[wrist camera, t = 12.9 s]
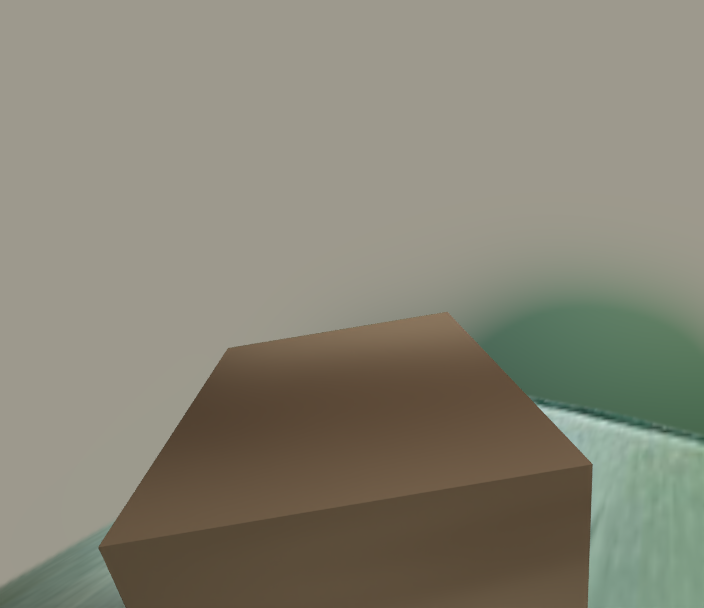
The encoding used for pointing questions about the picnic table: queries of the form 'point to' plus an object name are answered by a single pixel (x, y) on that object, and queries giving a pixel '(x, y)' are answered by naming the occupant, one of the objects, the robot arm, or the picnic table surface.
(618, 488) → the picnic table surface
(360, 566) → the walnut stick
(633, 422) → the picnic table surface
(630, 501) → the picnic table surface
